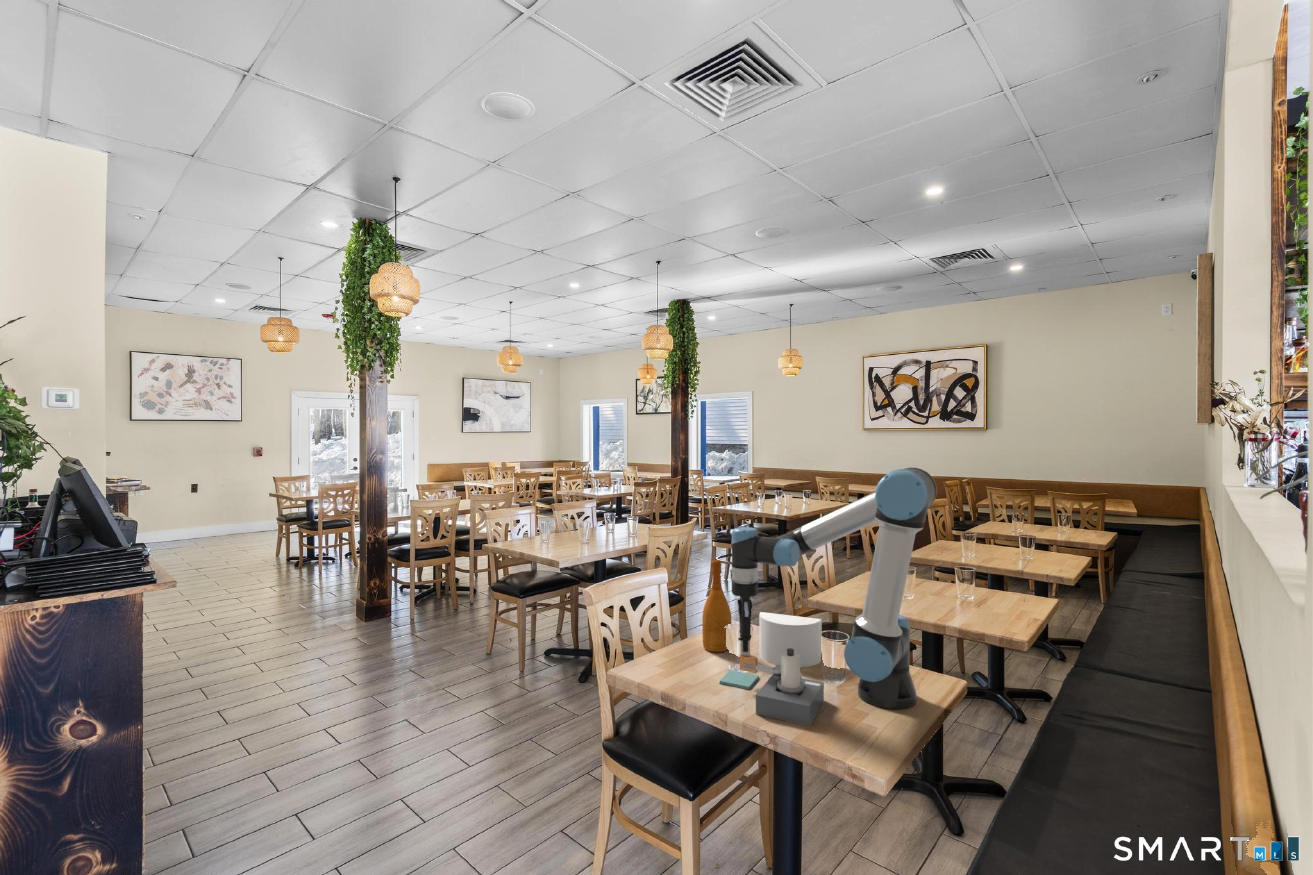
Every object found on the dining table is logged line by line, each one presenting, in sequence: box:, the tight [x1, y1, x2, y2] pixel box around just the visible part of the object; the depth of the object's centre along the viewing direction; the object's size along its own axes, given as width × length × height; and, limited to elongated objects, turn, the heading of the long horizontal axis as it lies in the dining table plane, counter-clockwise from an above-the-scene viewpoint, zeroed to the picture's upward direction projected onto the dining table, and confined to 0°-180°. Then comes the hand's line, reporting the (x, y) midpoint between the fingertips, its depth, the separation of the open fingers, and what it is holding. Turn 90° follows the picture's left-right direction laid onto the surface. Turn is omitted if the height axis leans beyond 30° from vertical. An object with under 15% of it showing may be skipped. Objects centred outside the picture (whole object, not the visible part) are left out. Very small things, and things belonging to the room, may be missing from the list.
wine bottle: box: [701, 559, 732, 653], centre depth 206 cm, size 10×10×30 cm
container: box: [758, 611, 823, 669], centre depth 199 cm, size 20×20×13 cm
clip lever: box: [739, 654, 803, 680], centre depth 169 cm, size 18×3×4 cm, turn 56°
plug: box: [777, 648, 804, 696], centre depth 162 cm, size 7×7×16 cm
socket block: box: [755, 674, 825, 727], centre depth 162 cm, size 14×16×6 cm
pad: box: [719, 669, 760, 690], centre depth 179 cm, size 9×9×1 cm
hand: (745, 661), depth 178 cm, fingers closed
